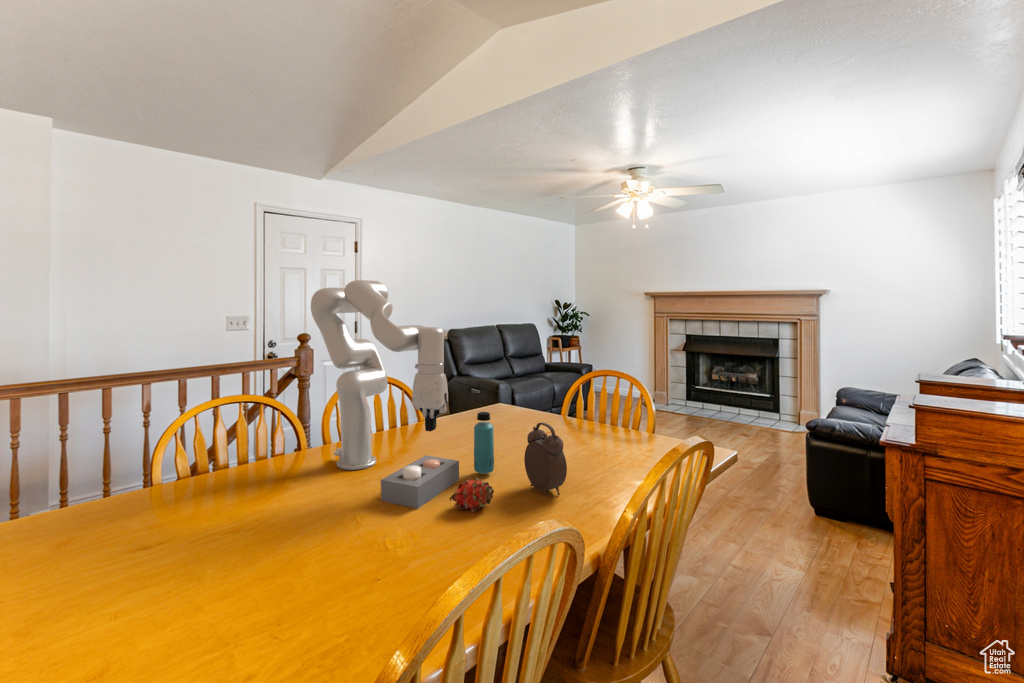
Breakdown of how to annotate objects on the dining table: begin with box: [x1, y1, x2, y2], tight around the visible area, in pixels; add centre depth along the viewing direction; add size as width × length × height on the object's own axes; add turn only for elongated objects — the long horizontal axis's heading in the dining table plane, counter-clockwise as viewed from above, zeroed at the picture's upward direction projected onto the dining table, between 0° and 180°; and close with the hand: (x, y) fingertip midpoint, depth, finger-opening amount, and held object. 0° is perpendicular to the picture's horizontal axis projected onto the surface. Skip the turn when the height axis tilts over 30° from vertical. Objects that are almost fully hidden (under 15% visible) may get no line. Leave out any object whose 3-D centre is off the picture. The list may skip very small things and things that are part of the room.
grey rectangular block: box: [380, 455, 460, 510], centre depth 137 cm, size 12×22×6 cm, turn 157°
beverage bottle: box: [473, 411, 495, 474], centre depth 148 cm, size 6×7×20 cm
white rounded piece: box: [402, 465, 421, 481], centre depth 132 cm, size 5×5×4 cm
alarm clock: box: [523, 422, 568, 497], centre depth 136 cm, size 14×7×20 cm, turn 30°
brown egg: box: [423, 459, 440, 469], centre depth 141 cm, size 5×5×4 cm
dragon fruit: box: [449, 477, 495, 513], centre depth 125 cm, size 8×8×12 cm
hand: (430, 430), depth 140 cm, fingers closed
